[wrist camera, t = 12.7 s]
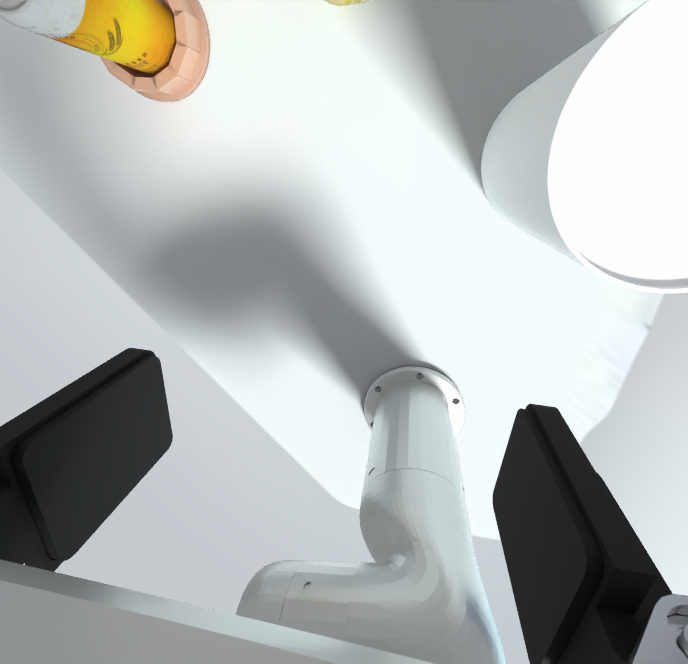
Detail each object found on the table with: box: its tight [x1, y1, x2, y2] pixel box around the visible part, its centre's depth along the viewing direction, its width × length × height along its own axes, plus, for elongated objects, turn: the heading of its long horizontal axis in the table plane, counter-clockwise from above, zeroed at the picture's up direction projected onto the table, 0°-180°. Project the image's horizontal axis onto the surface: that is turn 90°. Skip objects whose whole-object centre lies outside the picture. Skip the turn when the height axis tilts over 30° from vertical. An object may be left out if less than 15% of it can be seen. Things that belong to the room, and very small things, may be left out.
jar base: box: [100, 0, 210, 102], centre depth 35 cm, size 11×11×3 cm
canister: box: [481, 0, 688, 293], centre depth 25 cm, size 14×14×20 cm
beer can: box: [0, 0, 177, 74], centre depth 29 cm, size 6×6×15 cm
